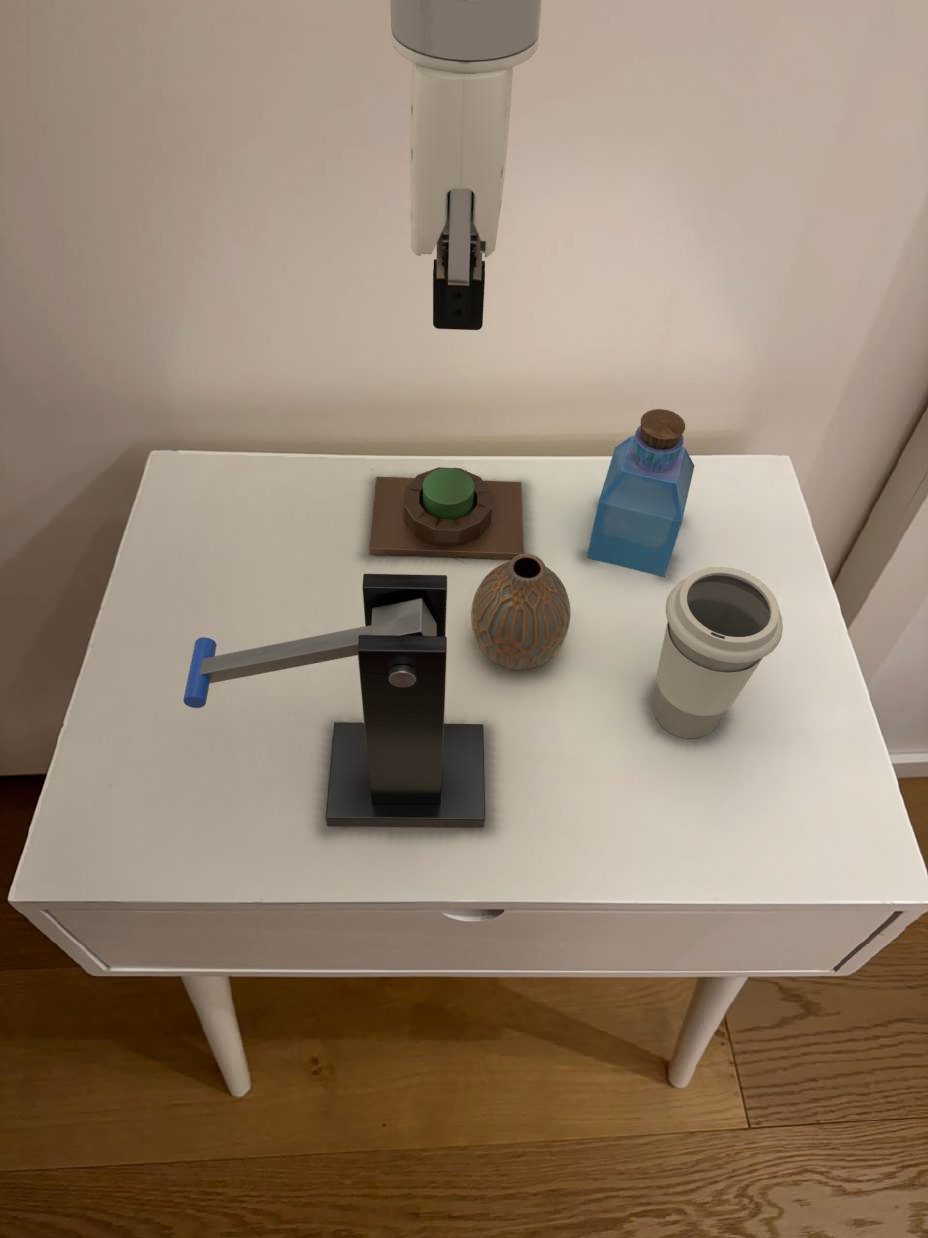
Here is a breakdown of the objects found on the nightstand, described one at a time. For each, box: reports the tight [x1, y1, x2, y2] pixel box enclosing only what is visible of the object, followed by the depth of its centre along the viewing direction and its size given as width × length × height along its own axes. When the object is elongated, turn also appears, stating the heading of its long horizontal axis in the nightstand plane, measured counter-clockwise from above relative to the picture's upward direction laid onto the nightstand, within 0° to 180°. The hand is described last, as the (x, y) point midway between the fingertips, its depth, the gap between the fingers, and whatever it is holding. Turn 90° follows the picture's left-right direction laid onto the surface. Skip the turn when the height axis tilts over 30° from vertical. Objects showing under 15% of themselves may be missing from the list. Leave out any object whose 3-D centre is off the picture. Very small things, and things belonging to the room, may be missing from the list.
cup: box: [652, 566, 784, 739], centre depth 62 cm, size 7×7×12 cm
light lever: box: [182, 598, 437, 709], centre depth 51 cm, size 14×4×2 cm, turn 91°
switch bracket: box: [325, 573, 486, 828], centre depth 56 cm, size 10×7×18 cm
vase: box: [470, 553, 572, 670], centre depth 66 cm, size 7×7×9 cm
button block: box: [368, 466, 525, 560], centre depth 76 cm, size 12×8×2 cm, turn 89°
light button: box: [423, 467, 474, 519], centre depth 74 cm, size 4×4×2 cm
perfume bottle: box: [586, 408, 695, 578], centre depth 72 cm, size 6×6×12 cm
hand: (457, 321), depth 62 cm, fingers closed
